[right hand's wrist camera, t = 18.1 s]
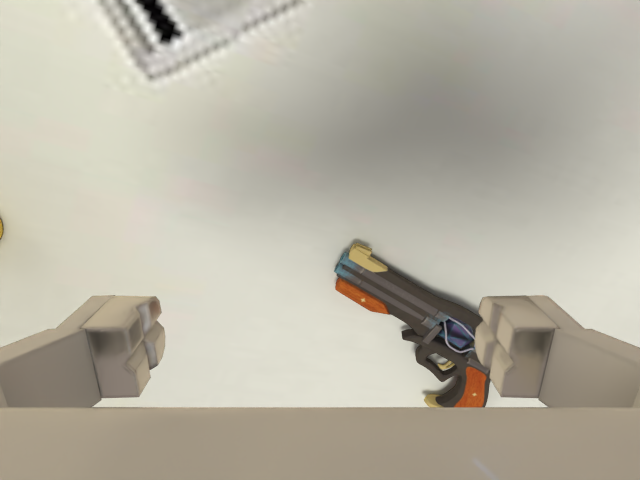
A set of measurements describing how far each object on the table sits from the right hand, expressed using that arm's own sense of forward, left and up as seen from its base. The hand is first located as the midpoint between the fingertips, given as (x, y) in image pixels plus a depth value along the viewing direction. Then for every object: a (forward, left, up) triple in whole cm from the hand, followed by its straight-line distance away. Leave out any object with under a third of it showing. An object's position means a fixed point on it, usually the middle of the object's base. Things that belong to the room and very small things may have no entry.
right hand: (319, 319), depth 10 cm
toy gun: (+9, +14, -21) cm, 27 cm away
